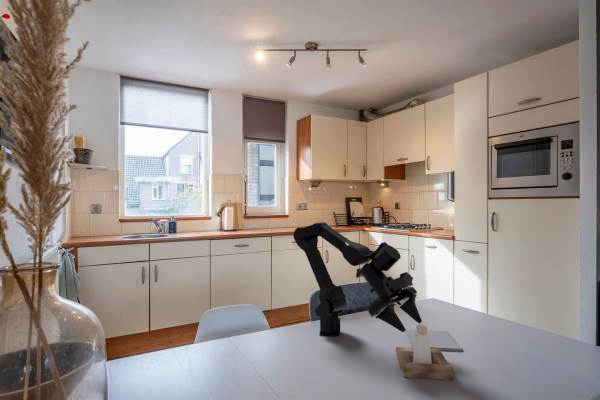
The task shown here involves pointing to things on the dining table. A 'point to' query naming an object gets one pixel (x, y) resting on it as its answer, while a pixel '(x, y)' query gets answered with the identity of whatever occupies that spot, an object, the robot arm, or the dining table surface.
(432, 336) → the slate grey mat
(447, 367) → the walnut collar
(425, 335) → the pepper shaker
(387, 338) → the dining table surface
